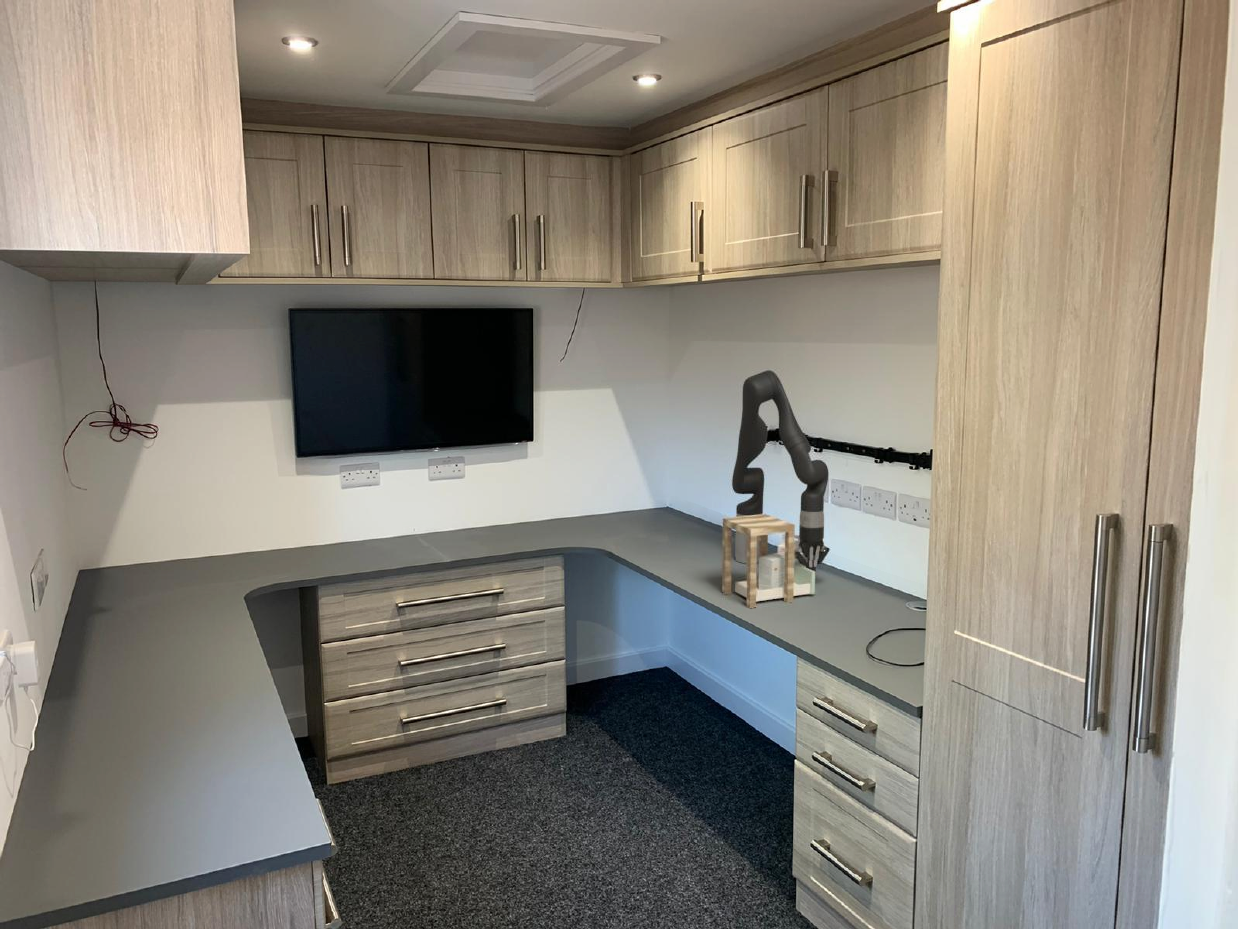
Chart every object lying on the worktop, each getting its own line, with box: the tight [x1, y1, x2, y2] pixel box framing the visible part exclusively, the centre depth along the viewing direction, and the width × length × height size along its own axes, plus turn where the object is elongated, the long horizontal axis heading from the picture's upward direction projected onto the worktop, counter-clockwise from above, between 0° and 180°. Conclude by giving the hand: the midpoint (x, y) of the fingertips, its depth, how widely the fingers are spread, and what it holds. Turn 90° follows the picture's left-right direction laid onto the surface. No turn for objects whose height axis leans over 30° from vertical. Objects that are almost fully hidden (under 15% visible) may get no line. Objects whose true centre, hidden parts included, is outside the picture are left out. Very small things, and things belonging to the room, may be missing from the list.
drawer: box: [734, 563, 816, 602], centre depth 288 cm, size 13×21×7 cm, turn 113°
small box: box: [758, 552, 785, 590], centre depth 287 cm, size 8×6×10 cm
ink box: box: [776, 533, 806, 567], centre depth 304 cm, size 9×5×15 cm, turn 62°
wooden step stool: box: [721, 513, 796, 609], centre depth 284 cm, size 17×15×24 cm
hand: (810, 577), depth 293 cm, fingers closed
